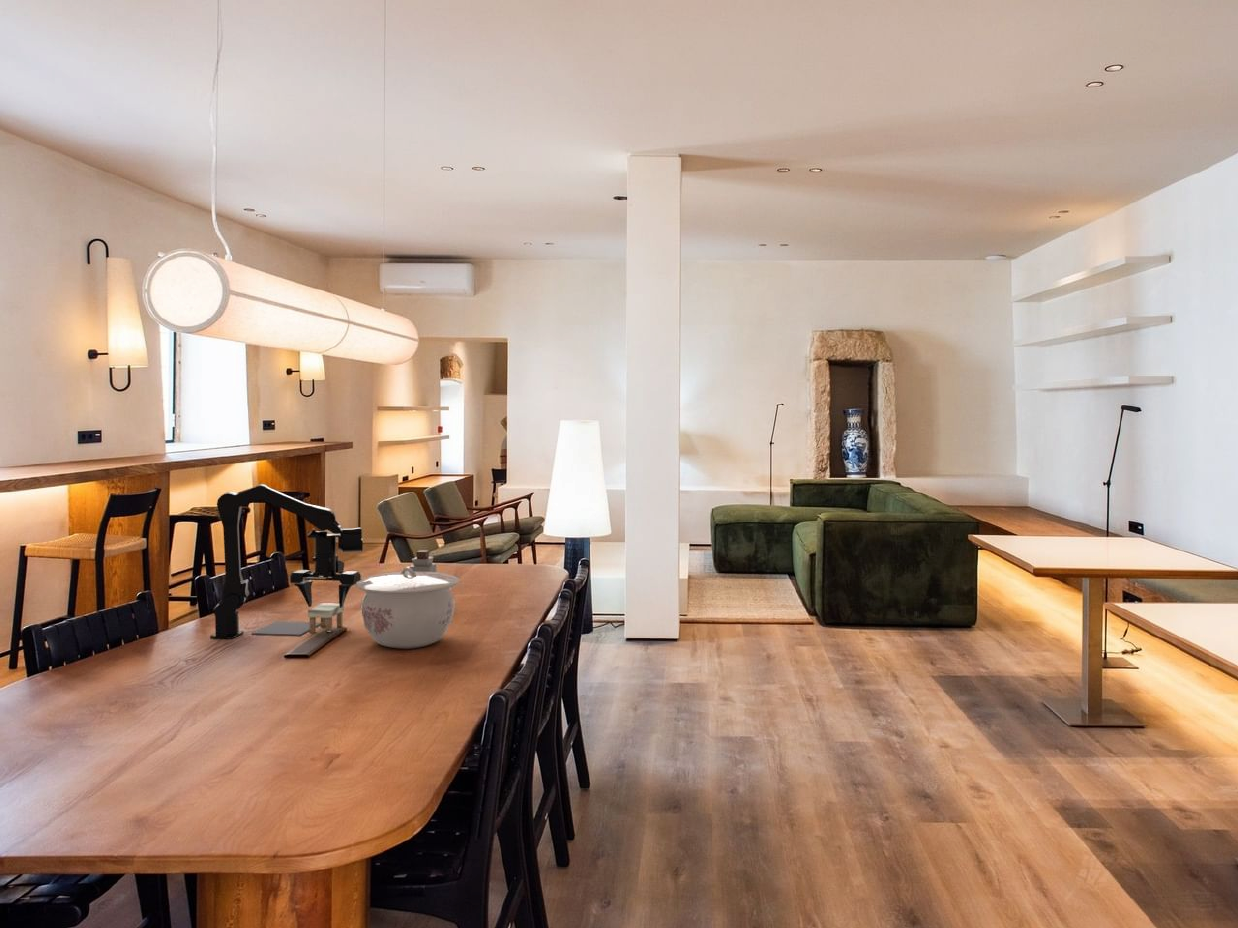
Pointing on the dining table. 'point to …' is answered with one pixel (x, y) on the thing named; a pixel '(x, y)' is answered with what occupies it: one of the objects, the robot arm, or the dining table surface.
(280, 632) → the felt pad
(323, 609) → the stool
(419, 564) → the perfume bottle
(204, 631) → the dining table surface
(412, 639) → the chamber pot
